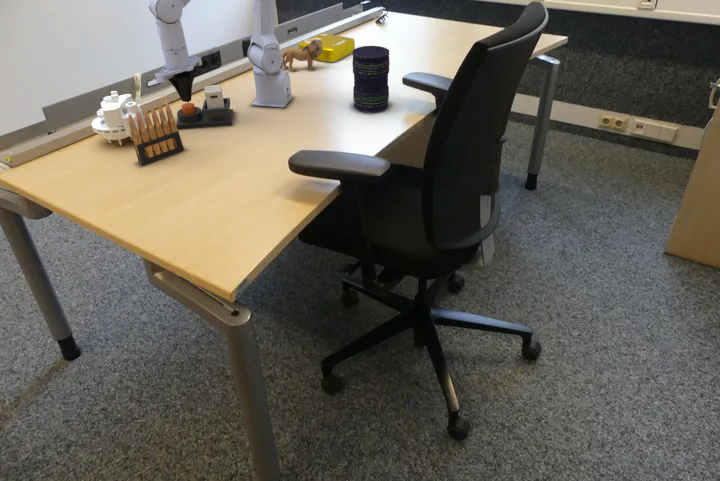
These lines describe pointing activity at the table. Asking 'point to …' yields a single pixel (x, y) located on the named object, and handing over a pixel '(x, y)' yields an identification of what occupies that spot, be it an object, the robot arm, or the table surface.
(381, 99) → the storage jar
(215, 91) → the block
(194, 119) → the black docking base
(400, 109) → the table surface
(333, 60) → the element tile
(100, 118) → the mechanical part
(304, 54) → the lion figurine
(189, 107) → the power button
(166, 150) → the ammunition clip
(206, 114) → the adapter socket
